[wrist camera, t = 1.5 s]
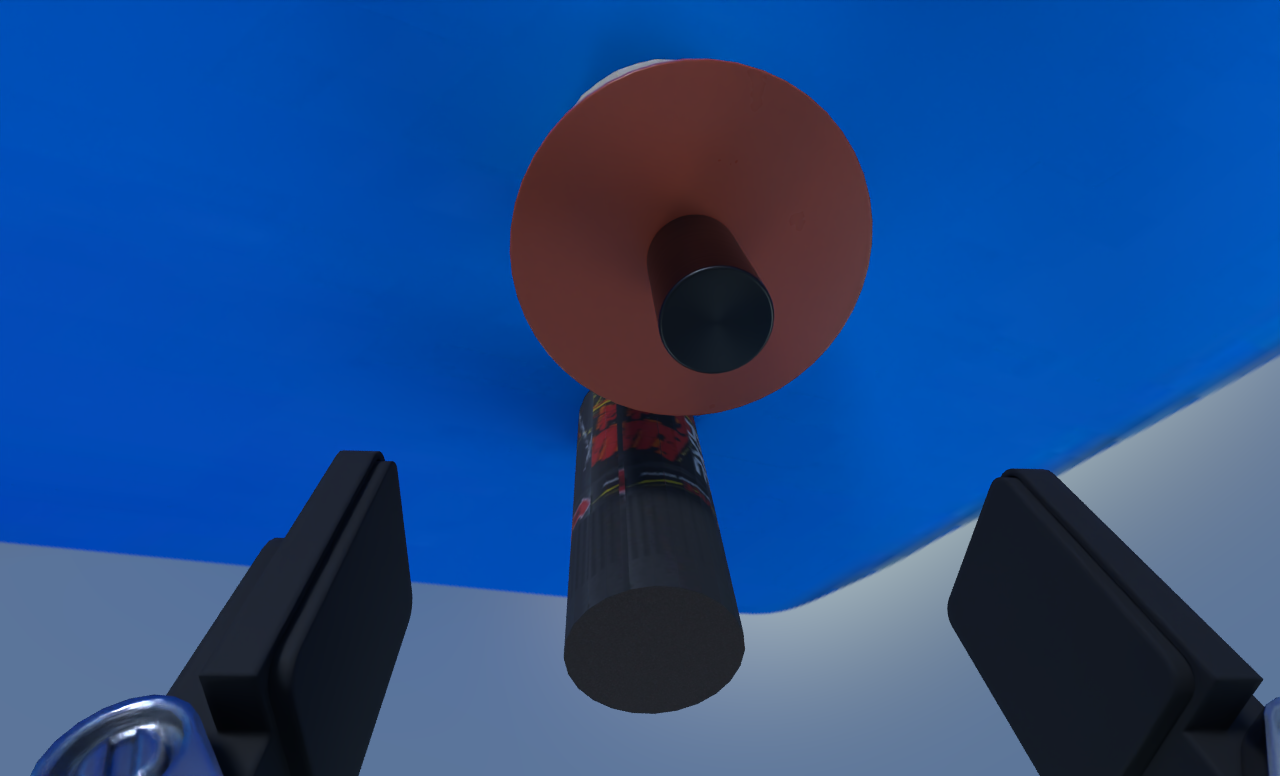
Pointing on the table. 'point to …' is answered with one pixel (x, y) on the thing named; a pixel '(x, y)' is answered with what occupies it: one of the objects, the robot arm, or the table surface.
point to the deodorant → (646, 566)
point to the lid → (691, 237)
